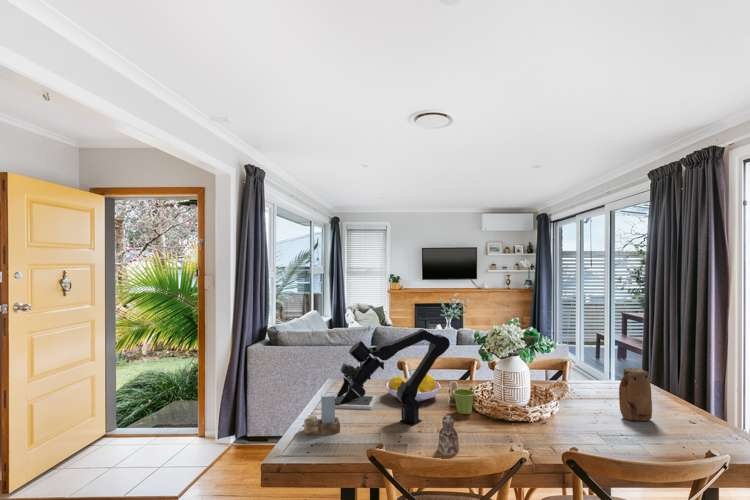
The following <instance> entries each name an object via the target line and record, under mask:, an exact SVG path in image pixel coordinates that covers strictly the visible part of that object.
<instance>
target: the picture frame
mask: <svg viewBox="0 0 750 500" xmlns="http://www.w3.org/2000/svg"><path fill="white" fill-rule="evenodd" d="M337 394H338V393H334V395H335V409H346V410H350V409H351V410H370V411H371V410H373V408H374V405H375V403H376V401H377V399H378V395H372V394H365V395H364V396H363V397H361V396H360V395H359V396H360V398H357V399H354V400H352V401H349V402H347V403H345V404H341V403H340V402H341V401H342V399H343V398H344V396H345V395H346V393H345V394H344V395H342V396H340V397H338V396H337Z"/></svg>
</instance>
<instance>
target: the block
mask: <svg viewBox="0 0 750 500" xmlns="http://www.w3.org/2000/svg"><path fill="white" fill-rule="evenodd" d="M651 385H652V384H651V380H650V373H649V372H648V371H645V370H644V369H642V368H638V367H637V368H632V367H627V368H626V367H625V368H624V369H623V376H621V380H620V383H619V385H618V398H619V399H618V400H619V410H620V414H621V416H622V418H623V419H625V420H627V421H628V420H629V421H638V422H639V421H640V422H641V421H643V422H646V421H650V420H651V419H652V418H653V417H652V416H653V400H652V386H651Z"/></svg>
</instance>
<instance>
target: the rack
mask: <svg viewBox="0 0 750 500" xmlns="http://www.w3.org/2000/svg"><path fill="white" fill-rule="evenodd" d="M317 422H318V432H309V433H306V431H305V426H304V429H303V431H304V436H306V437H307V436H316V435H327V434H336V433H338V434H339V433H341V422H340V419H339V417H337V416H335V422H334V423H324V424H321V418H317Z"/></svg>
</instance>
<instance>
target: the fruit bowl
mask: <svg viewBox="0 0 750 500" xmlns="http://www.w3.org/2000/svg"><path fill="white" fill-rule="evenodd" d="M410 378H411V377H406V378H405V377H404V378H403V377H402V376H401V375H398V376H395V377H393V378H391V379H390V380H389V381H388V382H386V389H387V391H388V392H389V394H391V395H392V396H393V397H395V398H396V399H398V397H397V391H398V389H397V388H398V387H399V386H400V385H401V382H402V381H404V382H407V381H408V380H409V379H410ZM441 388H442V387H441V385H440V383H439V382H438V381H436V380H435V379H434V377H433V376H432V375H431V374H430V373H429V374H428V373H427V374H426V376H425V377H424V379H423V380H422V382H421V384H420V385H419V387H418V391H417V395H416V398H415V400H416V401H417V402H418V403H420V402H423V401H427V400H429V399H432V398H435V396H436V395H437V394H438V392H439V391H440V390H441Z"/></svg>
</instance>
